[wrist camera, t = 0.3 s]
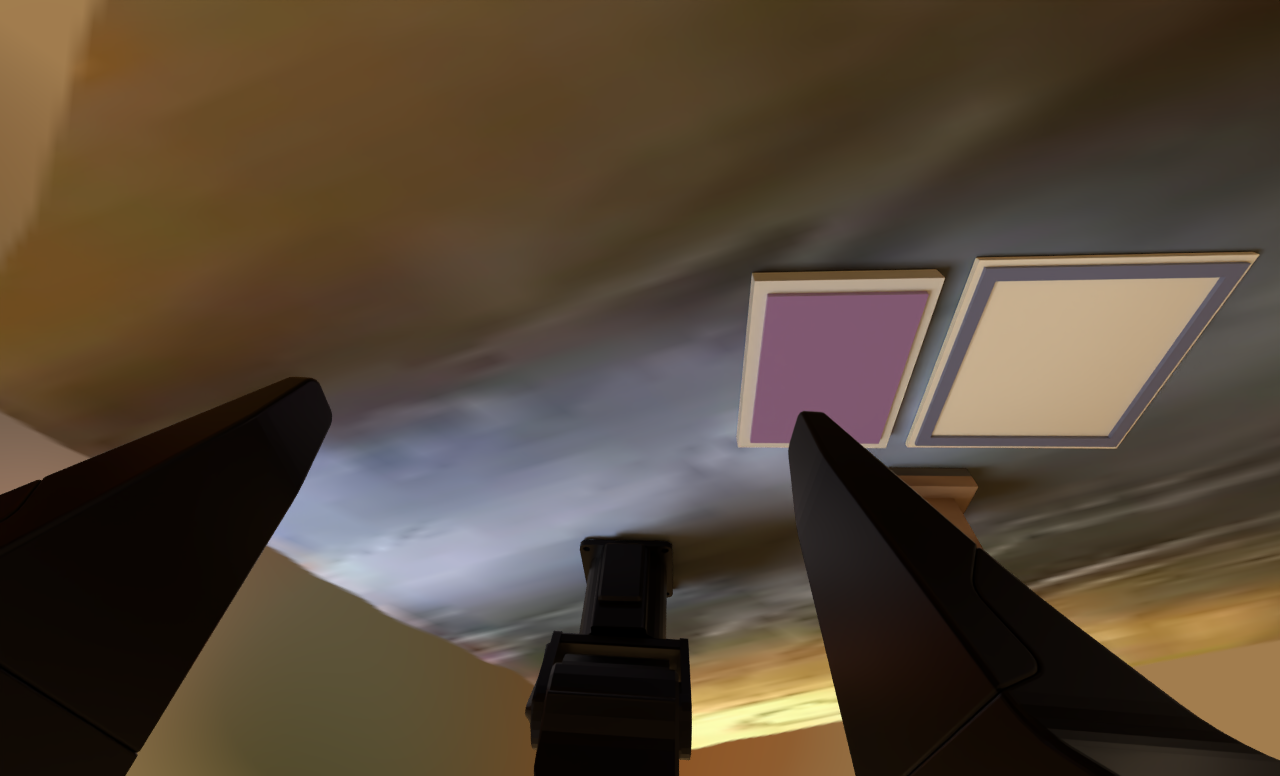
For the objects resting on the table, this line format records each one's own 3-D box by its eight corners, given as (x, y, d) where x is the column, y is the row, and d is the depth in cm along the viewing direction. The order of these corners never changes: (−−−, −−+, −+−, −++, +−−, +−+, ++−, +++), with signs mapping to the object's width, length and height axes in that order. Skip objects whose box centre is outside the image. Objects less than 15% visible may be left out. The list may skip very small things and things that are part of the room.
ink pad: (880, 436, 28) (887, 451, 27) (736, 436, 28) (738, 450, 27) (936, 269, 22) (948, 280, 21) (752, 272, 22) (755, 284, 21)
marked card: (1112, 444, 27) (1119, 450, 27) (905, 443, 28) (908, 449, 27) (1252, 251, 20) (1263, 256, 20) (975, 257, 21) (981, 262, 21)
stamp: (938, 521, 32) (990, 619, 27) (859, 520, 32) (894, 616, 27) (965, 467, 29) (1029, 565, 24) (877, 466, 29) (921, 563, 24)
